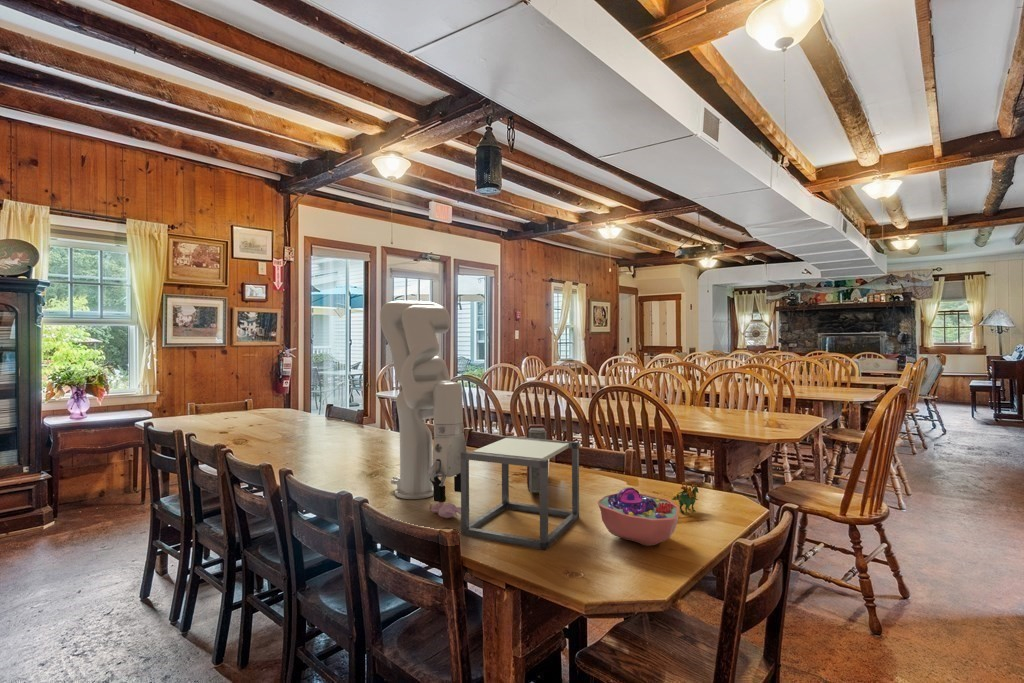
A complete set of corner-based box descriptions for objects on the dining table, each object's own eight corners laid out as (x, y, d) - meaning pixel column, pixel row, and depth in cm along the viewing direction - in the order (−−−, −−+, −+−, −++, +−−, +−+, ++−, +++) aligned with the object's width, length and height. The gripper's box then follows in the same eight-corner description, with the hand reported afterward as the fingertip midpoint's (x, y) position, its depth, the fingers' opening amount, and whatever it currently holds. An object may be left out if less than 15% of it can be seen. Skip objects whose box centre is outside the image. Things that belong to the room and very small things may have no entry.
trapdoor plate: (472, 455, 126) (472, 450, 126) (506, 441, 143) (506, 437, 143) (542, 463, 118) (542, 458, 118) (569, 447, 135) (569, 442, 135)
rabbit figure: (424, 517, 141) (448, 524, 129) (422, 494, 142) (446, 499, 129) (445, 512, 145) (471, 519, 132) (443, 490, 145) (469, 495, 133)
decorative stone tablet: (549, 428, 152) (545, 421, 182) (526, 428, 152) (526, 421, 182) (549, 496, 151) (545, 478, 181) (527, 496, 151) (526, 477, 181)
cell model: (635, 564, 108) (635, 509, 108) (584, 531, 127) (584, 484, 126) (699, 550, 115) (699, 498, 115) (641, 521, 133) (641, 476, 133)
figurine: (703, 509, 142) (703, 479, 142) (676, 519, 134) (676, 487, 134) (693, 506, 144) (693, 476, 144) (666, 516, 137) (666, 484, 137)
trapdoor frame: (461, 534, 125) (460, 452, 124) (504, 506, 145) (503, 435, 145) (545, 550, 115) (545, 461, 115) (579, 517, 136) (578, 442, 136)
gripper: (442, 435, 127) (443, 507, 126) (477, 426, 142) (479, 489, 142) (416, 434, 130) (418, 504, 130) (454, 425, 146) (455, 487, 145)
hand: (450, 496), depth 136 cm, fingers open, 9 cm apart
